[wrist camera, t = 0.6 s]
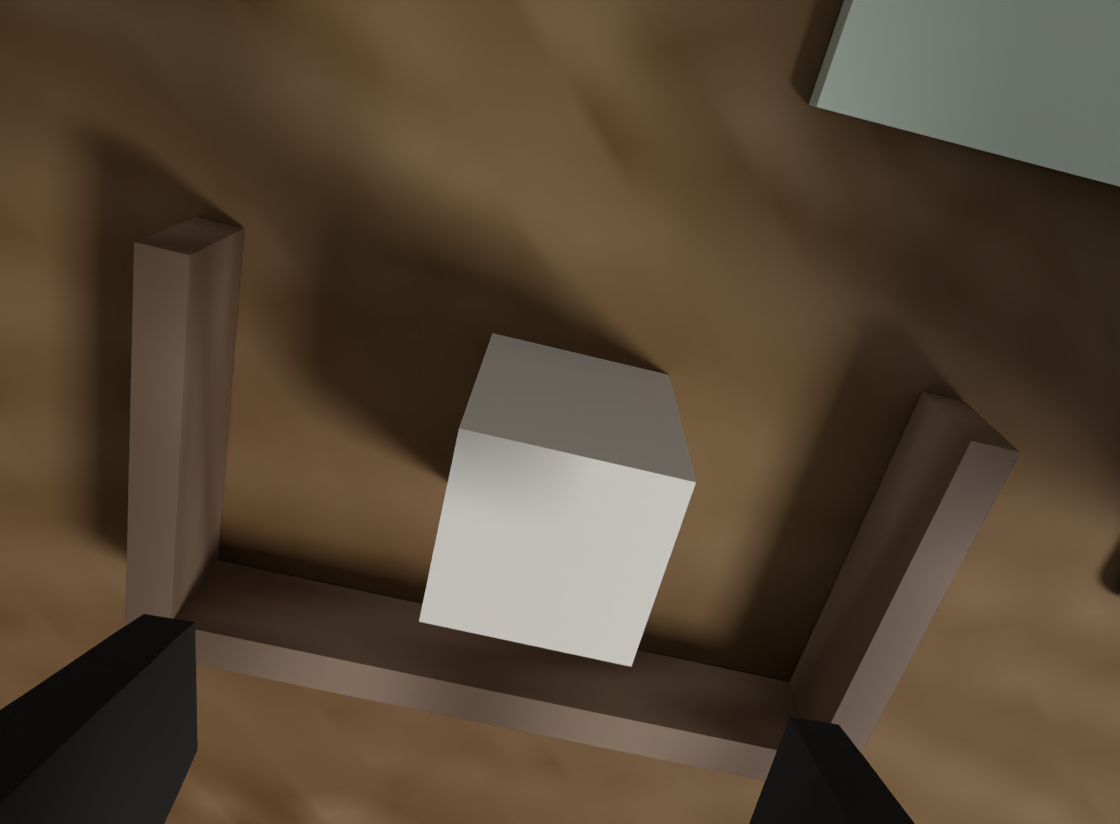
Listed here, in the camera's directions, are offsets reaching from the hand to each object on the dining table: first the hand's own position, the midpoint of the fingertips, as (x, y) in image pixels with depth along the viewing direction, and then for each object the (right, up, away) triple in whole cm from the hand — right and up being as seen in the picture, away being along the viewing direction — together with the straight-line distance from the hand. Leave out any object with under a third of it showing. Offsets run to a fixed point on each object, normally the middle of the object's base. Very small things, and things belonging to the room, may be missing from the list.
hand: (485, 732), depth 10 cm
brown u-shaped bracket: (+1, +2, +9) cm, 10 cm away
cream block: (+1, +3, +9) cm, 10 cm away
